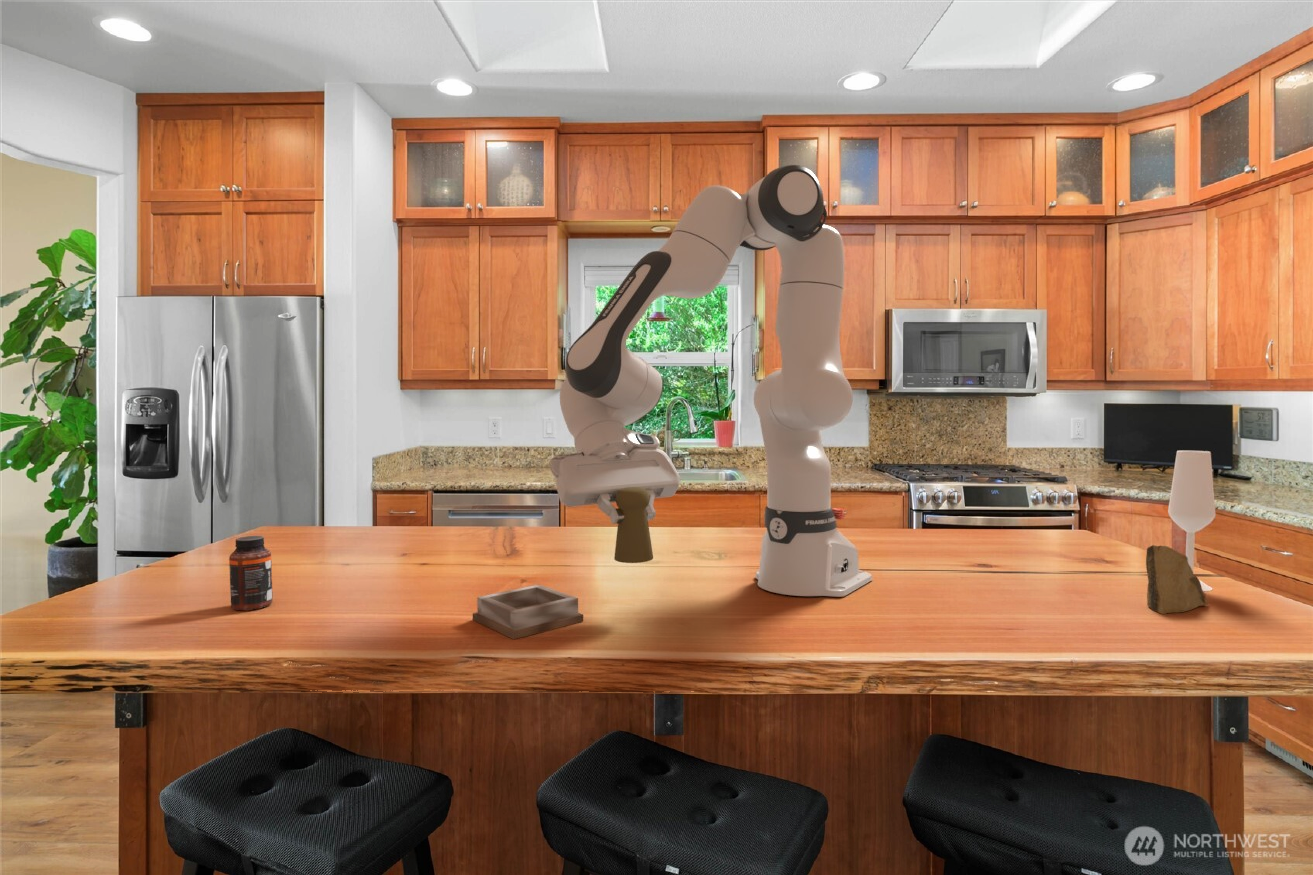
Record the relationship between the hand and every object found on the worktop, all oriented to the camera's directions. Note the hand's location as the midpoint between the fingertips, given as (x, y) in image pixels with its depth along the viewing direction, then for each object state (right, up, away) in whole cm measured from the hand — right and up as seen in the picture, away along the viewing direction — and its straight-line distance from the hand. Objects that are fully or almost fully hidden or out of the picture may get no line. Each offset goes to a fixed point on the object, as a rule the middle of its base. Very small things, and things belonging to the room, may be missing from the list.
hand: (635, 519), depth 108 cm
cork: (0, -6, +1) cm, 6 cm away
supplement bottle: (-63, -15, +7) cm, 65 cm away
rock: (+87, -15, +5) cm, 88 cm away
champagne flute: (+98, -14, +18) cm, 100 cm away
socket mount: (-16, -15, -1) cm, 22 cm away
